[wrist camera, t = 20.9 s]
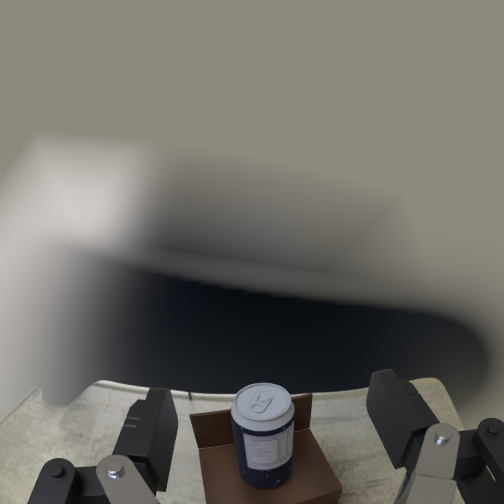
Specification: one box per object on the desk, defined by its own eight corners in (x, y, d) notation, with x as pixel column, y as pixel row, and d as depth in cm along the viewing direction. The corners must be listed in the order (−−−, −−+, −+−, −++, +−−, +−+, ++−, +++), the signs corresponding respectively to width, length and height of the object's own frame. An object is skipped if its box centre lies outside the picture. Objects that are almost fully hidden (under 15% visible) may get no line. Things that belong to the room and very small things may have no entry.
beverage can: (298, 461, 28) (304, 387, 25) (279, 498, 24) (280, 430, 20) (253, 449, 31) (247, 374, 28) (230, 481, 26) (216, 410, 23)
